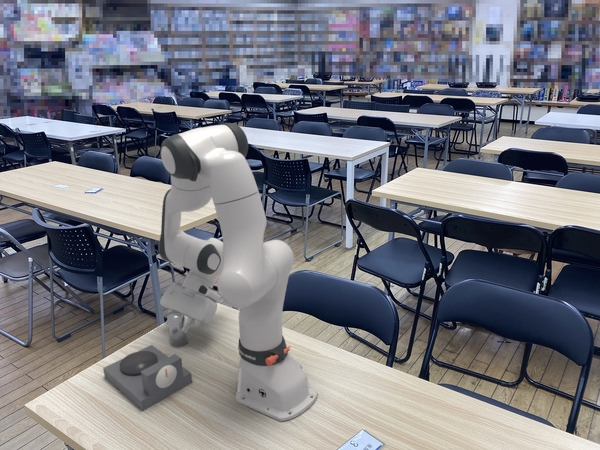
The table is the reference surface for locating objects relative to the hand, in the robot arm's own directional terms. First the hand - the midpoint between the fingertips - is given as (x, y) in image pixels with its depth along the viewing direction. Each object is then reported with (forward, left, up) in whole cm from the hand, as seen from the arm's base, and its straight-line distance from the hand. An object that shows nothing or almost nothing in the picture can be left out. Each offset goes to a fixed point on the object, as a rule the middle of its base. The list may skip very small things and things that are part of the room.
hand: (175, 328), depth 146 cm
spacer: (0, -1, -5) cm, 5 cm away
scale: (-9, +15, -5) cm, 19 cm away
